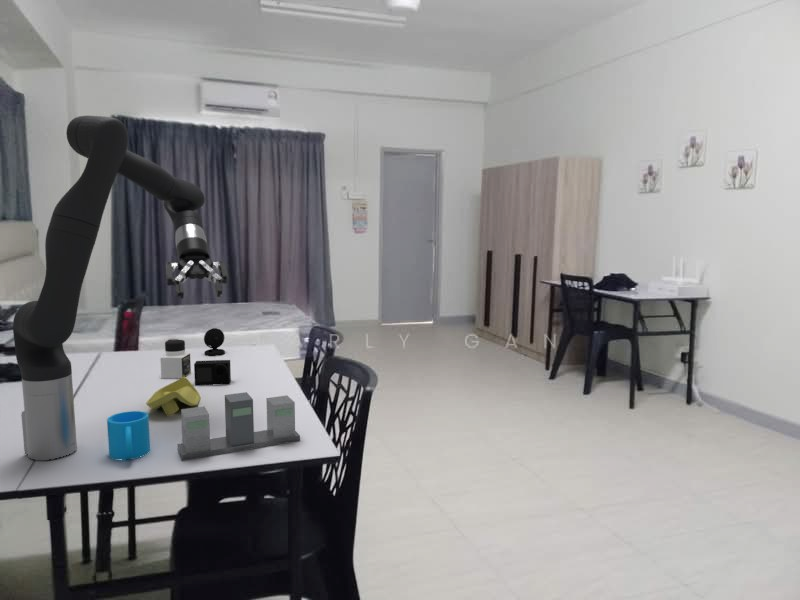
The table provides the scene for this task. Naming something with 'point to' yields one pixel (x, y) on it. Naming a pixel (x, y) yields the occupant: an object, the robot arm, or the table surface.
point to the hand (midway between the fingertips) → (200, 295)
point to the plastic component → (174, 396)
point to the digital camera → (212, 372)
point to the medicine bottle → (175, 360)
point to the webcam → (214, 342)
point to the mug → (128, 435)
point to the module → (239, 418)
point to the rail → (201, 445)
